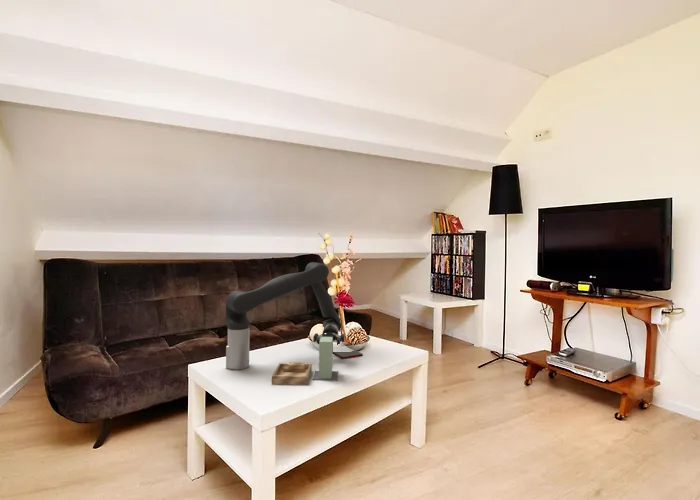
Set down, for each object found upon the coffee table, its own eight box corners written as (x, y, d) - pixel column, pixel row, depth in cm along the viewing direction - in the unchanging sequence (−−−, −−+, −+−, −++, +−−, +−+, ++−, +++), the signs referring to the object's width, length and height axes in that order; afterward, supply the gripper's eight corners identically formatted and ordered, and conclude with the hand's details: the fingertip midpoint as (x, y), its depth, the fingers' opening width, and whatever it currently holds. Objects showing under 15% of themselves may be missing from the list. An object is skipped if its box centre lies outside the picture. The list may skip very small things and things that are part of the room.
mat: (312, 380, 154) (312, 379, 154) (315, 371, 164) (315, 370, 164) (337, 380, 154) (337, 379, 154) (338, 371, 164) (338, 371, 164)
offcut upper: (288, 368, 159) (288, 364, 159) (289, 365, 163) (289, 362, 163) (303, 368, 159) (303, 365, 159) (304, 366, 163) (304, 362, 163)
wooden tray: (271, 384, 149) (271, 375, 149) (279, 370, 164) (279, 363, 164) (307, 384, 149) (307, 376, 149) (311, 371, 164) (311, 363, 164)
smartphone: (340, 342, 209) (364, 353, 187) (340, 344, 209) (364, 357, 187) (320, 344, 203) (341, 357, 181) (320, 347, 203) (341, 360, 181)
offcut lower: (282, 371, 160) (282, 368, 159) (284, 369, 163) (284, 365, 163) (304, 372, 159) (304, 368, 159) (305, 369, 163) (305, 366, 163)
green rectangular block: (318, 378, 155) (319, 341, 155) (320, 371, 163) (321, 336, 163) (331, 378, 155) (331, 342, 155) (332, 371, 163) (332, 336, 163)
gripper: (316, 325, 186) (312, 333, 170) (345, 325, 186) (344, 334, 169) (315, 340, 186) (312, 350, 170) (345, 340, 186) (344, 350, 170)
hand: (328, 342), depth 170 cm, fingers open, 8 cm apart
